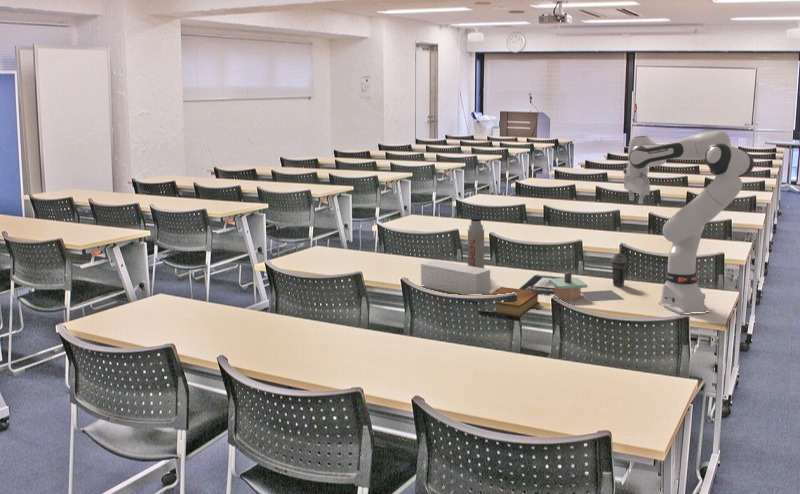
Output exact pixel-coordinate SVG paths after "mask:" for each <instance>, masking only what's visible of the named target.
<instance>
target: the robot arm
mask: <svg viewBox="0 0 800 494" xmlns="http://www.w3.org/2000/svg"><path fill="white" fill-rule="evenodd" d="M731 144H732V143H731V138H730V136H729V135H728V133H726V132H725V131H721V130H712V131H703V132H699V133H696V134H692V135H689V136H686V137H684V138H682V139H679V140H676V141H674V142H670V143H667V144H663V145H662V144H658V143H657V142H654V141H653V140H651V139H650V137H649V136H647V135H639V136H634V137H631V138H630V140H629V143H628V150H627V152H628V153H627V157H628V162H627V167H626V168H624V169H623V171H622V172H623V187H624V189H625V190H626V191H627V193H628V196H629V199H628V200H629V201H632V202H633V201H635V196H634V193H635V194H638V197H639V198H638V199H637V203H638V204H639V205H643V204H644V199H645V197H646V196H648V195H650V191H651V187H650V186H651V185H650V184H651V183H650V178H649V177H648V170H649V168H651V167H659V166H662V165H664V164H666V161H667V160H685V161H686V160H688V161H689V160H690V161H695V160H696V161H699V160H701V161H702V160H705V163H706V165H707V167H708V168H709V171H710V173H711V174H712V175H715V177H714V179H713V180H712V181H711V182H710V183H709V184H707V186H706V187H704V188H703V190H701V192H700V193H699V194H697V195H696V197H695V198H693V199H692V200H691V201H690V202H688V203H687V204H686V205H684V206H683V207H682V208H681V209H680V210H678V211H677V212H676V213H675V214H673V215H672V216H671V217H670V218H669V219H668V220H667V221H666V222H665V223H664V224H663V226H662V235H663V236H664V238H665V239H666V240H667V241H669V242H670V243H672V244H671V246H670V247H671V248H670V249H669V251H668V259H667V260H668V261H667V270H666V274H665V276H666V277H665V280H666V281H665V283H664V284H663V286H662V290H661V291H662V292H661V298H660V301H658V303H657V304H658V305H660V306H662V307H663V308H665V309H668V310H669V311H671V312H673V313H677V314H679V315H683V314H682V313H691V312H706V311H710V312H711V309H710V308H709V307H708V306H706V304H705V299H706V293H704V292H702V291H701V288H700V287H699V285H698V276H697V272H696V265H697V264H696V263H697V254H698V250H699V245H700V242H701V237H702V234H703V231H704V229H705V226H706V225H707V224H709V222H710V221H712V220H714V218H716V216H718V215H719V214H720V213H721V212H723V210H724V209H725V208H726V207H728V205H730V204H731V203H732V202H733V201H734V200H735V198H736V197H737V196H738V195H739V194H740V192H741V190H742V189H743V181H742V179H741V178H742V177H746V176H748V175H749V174H751V172H753V169H754V166H755V161H754V157H752V155H751V154H750V153H749V152H747V151H745V150H743V149H740V148H738V147H736V146H732V145H731Z"/></svg>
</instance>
